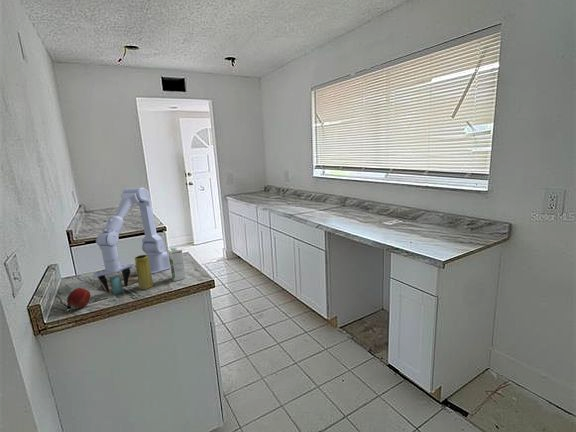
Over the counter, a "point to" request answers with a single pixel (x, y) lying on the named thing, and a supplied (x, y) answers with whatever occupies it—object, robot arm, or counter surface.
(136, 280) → the brown tray
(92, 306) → the counter surface
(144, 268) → the vase
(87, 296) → the apple
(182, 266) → the syrup box
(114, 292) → the peg
